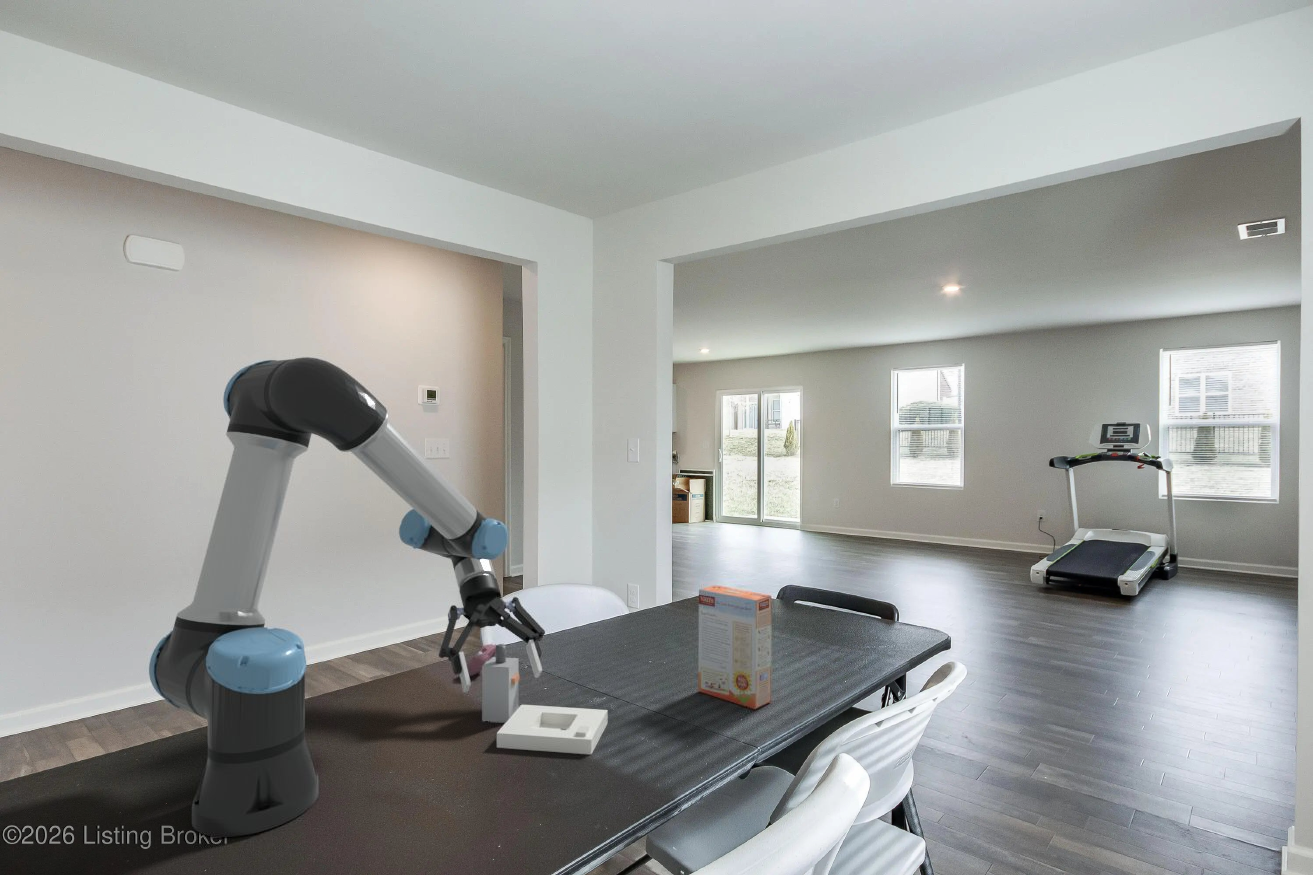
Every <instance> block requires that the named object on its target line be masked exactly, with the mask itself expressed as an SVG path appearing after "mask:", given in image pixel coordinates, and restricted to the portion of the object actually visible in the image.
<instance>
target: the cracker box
mask: <svg viewBox="0 0 1313 875" xmlns="http://www.w3.org/2000/svg"><path fill="white" fill-rule="evenodd" d="M697 659H698V661H697V662H698V664H697V665H698V676H697V677H698V678H697V679H698V684H697V685H698V687H697V688H698V689H697V690H698V692H699V693H703V694H706V695H709V696H712V697H714V698H715V697H716V698H718V699H721V700H725V701H727V702H731V703H733V702H734V704H737V705H739V706H743V707H746V706H747V707H746V708H749V709H752V710H756V709H759V708H761V707H763V706H765V705H767V704H769V703H771V702H772V595H771V594H765V593H759V592H753V591H749V590H743V589H739V588H732V587H727V586H723V585H722V586H721V585H716V584H715V585H710V586H707V587H702V588H700V589H698V658H697Z"/></svg>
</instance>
